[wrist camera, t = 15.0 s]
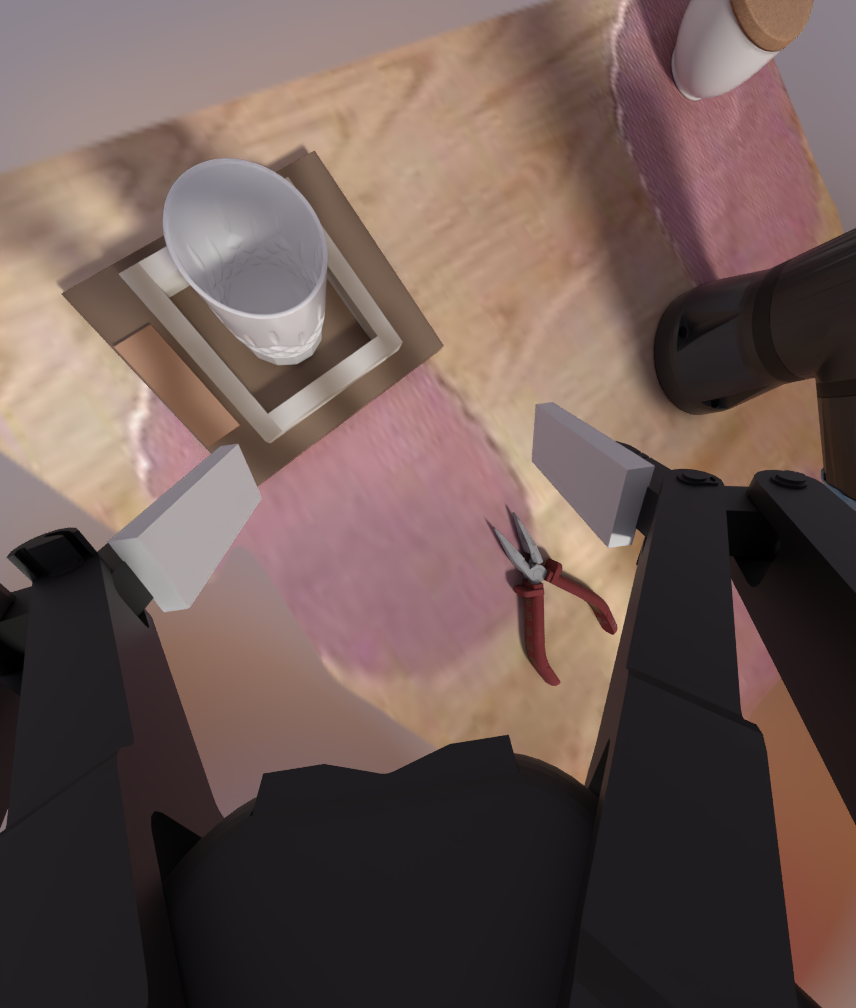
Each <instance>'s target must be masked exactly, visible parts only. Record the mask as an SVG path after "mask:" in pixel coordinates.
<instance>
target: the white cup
mask: <svg viewBox="0 0 856 1008" xmlns="http://www.w3.org/2000/svg"><path fill="white" fill-rule="evenodd" d="M163 232H164V238H165V242H166V245H167V248H168V251H169V253H170V256H171V258H172V260H173V262H174V264H175V265H176V267H177V269H178V270H179V272H180V273H181V275H182V276H183V277H184V279H185V280H186V281H187V282H188V283H189V284H190V286H191V287H192V288H193V289H194V290H195V291H196V293H197V294H198V295H199V296H200V297H201V298H202V300H203V301H204V302H205V303H206V304H207V305H208V307H209V308H210V309H211V310H212V311H213V313H214V314H215V315H216V316H217V317H218V318H219V320H220V321H221V322H222V323H223V324H224V325H225V326H226V327H227V328H228V329H229V330H230V331H231V333H232V334H233V335H234V336H235V337H236V338H237V339H238V340H239V341H240V342H242V344H243V345H245V346H246V347H247V348H248V349H249V350H250V351H251V352H252V353H253V354H254V355H255V356H257V357H258V358H259V359H262V360H265V361H267V362H270V363H273V364H275V365H294V364H298V363H300V362H302V361H304V360H305V359H307V358H309V357H310V356H312V355H313V354H314V352H315V350H316V349H317V347H318V345H319V343H320V342H321V340H322V326H323V322H324V315H325V303H326V281H327V261H328V253H327V244H326V239H325V235H324V232H323V229H322V226H321V224H320V221H319V219H318V217H317V215H316V213H315V212H314V210H313V208H312V207H311V205H310V204H309V202H308V201H307V200H306V199H305V197H304V196H303V195H302V194H301V193H300V192H299V191H298V190H297V189H296V188H295V187H294V186H293V185H292V184H291V183H290V182H288V181H287V180H286V179H285V178H283V177H282V176H280V175H279V174H277V173H276V172H274V171H272V170H270V169H268V168H266V167H264V166H262V165H259V164H256V163H253V162H250V161H246V160H241V159H234V158H219V159H212V160H208V161H204V162H202V163H199V164H197V165H195V166H193V167H191V168H189V169H188V170H187V171H185V172H184V173H183V174H182V175H181V176H180V177H179V178H178V179H177V180H176V181H175V182H174V184H173V185H172V187H171V189H170V190H169V193H168V195H167V197H166V200H165V204H164V209H163Z"/></svg>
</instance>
